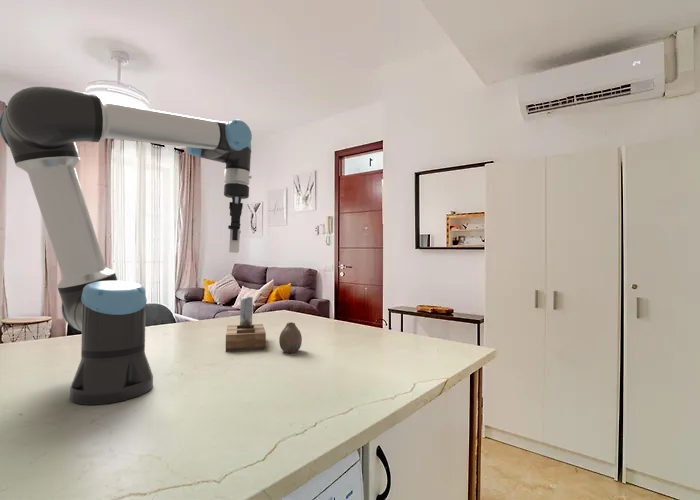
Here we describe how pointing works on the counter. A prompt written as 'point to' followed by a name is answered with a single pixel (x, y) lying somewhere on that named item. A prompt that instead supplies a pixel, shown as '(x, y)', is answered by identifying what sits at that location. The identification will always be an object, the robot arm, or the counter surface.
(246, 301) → the steel pin
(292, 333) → the vase
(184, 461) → the counter surface
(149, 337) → the counter surface
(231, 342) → the bore block
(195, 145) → the robot arm
